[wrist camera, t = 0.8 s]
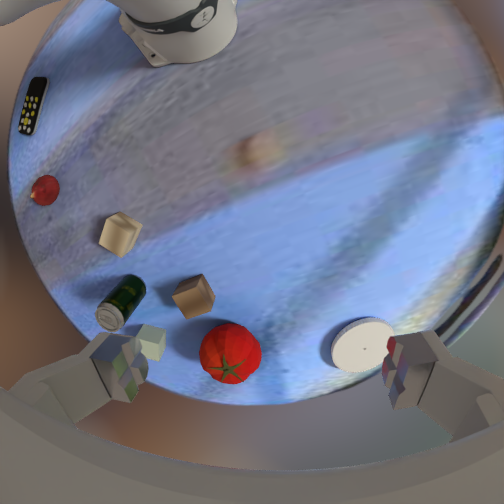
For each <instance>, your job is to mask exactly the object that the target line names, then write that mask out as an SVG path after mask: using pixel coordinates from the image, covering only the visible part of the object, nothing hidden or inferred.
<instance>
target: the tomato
mask: <svg viewBox="0 0 504 504" xmlns="http://www.w3.org/2000/svg"><path fill="white" fill-rule="evenodd" d="M199 355H200V363H201V365H202V368H203V370H205V371H206V372H208V373H209V374H210V375H211V376H212V378H213V379H215V380H217V381H220V382H221V383H227V384H238V383H241V382H244V380H246V379H247V378H248V376H249V375H250V374H252V373H253V372H254V371H255V370H256V369H257V368H258V367H259V365H260V361H261V355H262V354H261V348H260V344H259V342H258V341H257V340H256V339H255V337H254V336H253V335H252V334H251V333H250V332H249V331H248V330H247V329H246V328H245V327H244V326H241V325H239V324H231V323H227V324H223V325H220V326H217V327H215V328H213V329H212V330H211V331H210V332H209V333H208V334H207V335H206V336H205V337H204V339H203V341H202V343H201V346H200V351H199Z"/></svg>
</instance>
